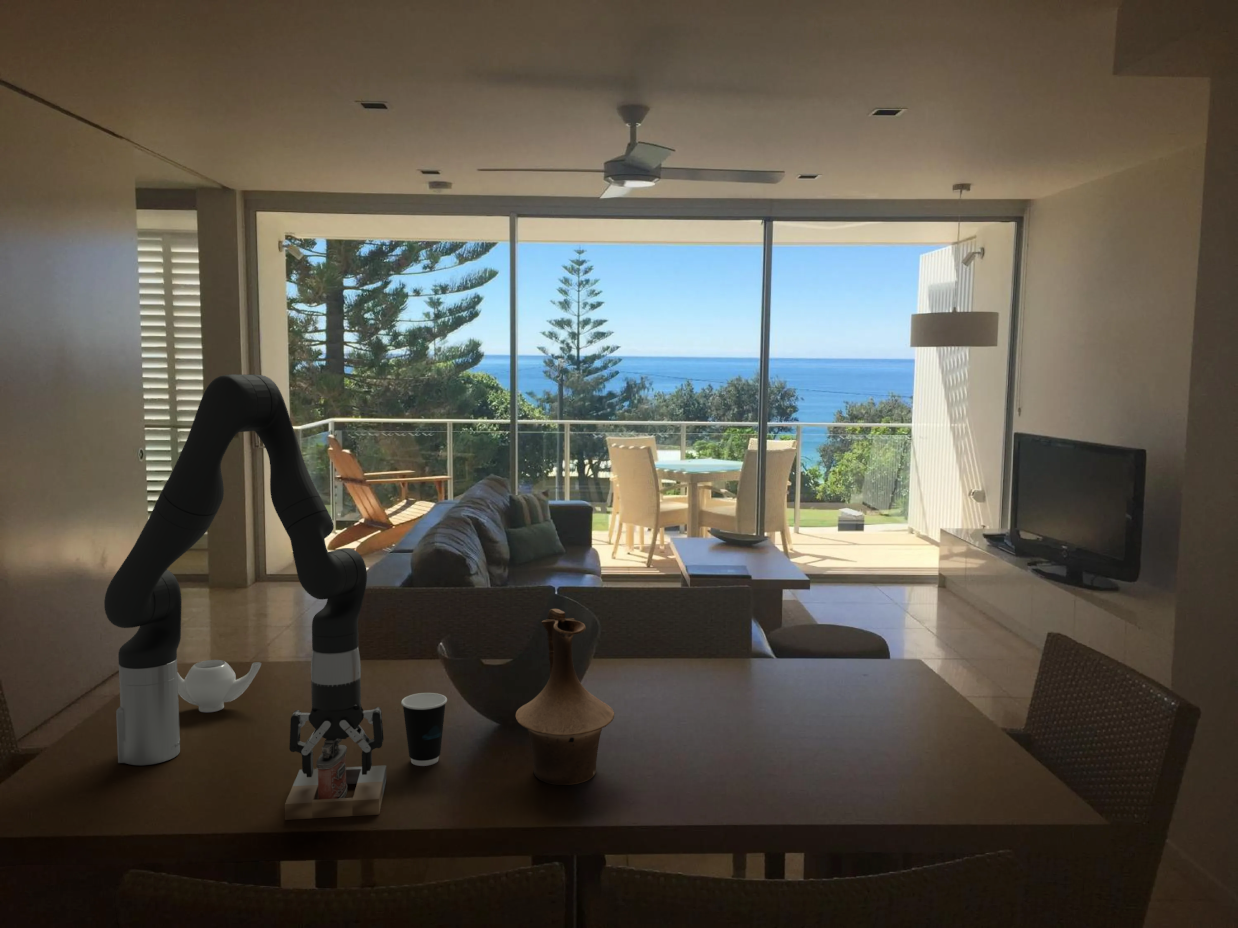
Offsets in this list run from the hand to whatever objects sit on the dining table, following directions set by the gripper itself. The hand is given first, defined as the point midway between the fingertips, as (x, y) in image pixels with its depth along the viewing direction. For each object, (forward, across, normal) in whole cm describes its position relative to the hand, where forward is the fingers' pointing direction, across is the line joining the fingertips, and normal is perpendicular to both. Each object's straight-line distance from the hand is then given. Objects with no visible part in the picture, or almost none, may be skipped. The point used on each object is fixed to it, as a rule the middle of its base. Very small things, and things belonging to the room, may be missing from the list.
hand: (337, 773), depth 155 cm
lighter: (+4, -1, 0) cm, 4 cm away
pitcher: (+4, +37, +6) cm, 38 cm away
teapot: (+4, -31, +46) cm, 56 cm away
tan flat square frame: (+4, 0, 0) cm, 4 cm away
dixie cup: (+4, +13, +14) cm, 20 cm away
